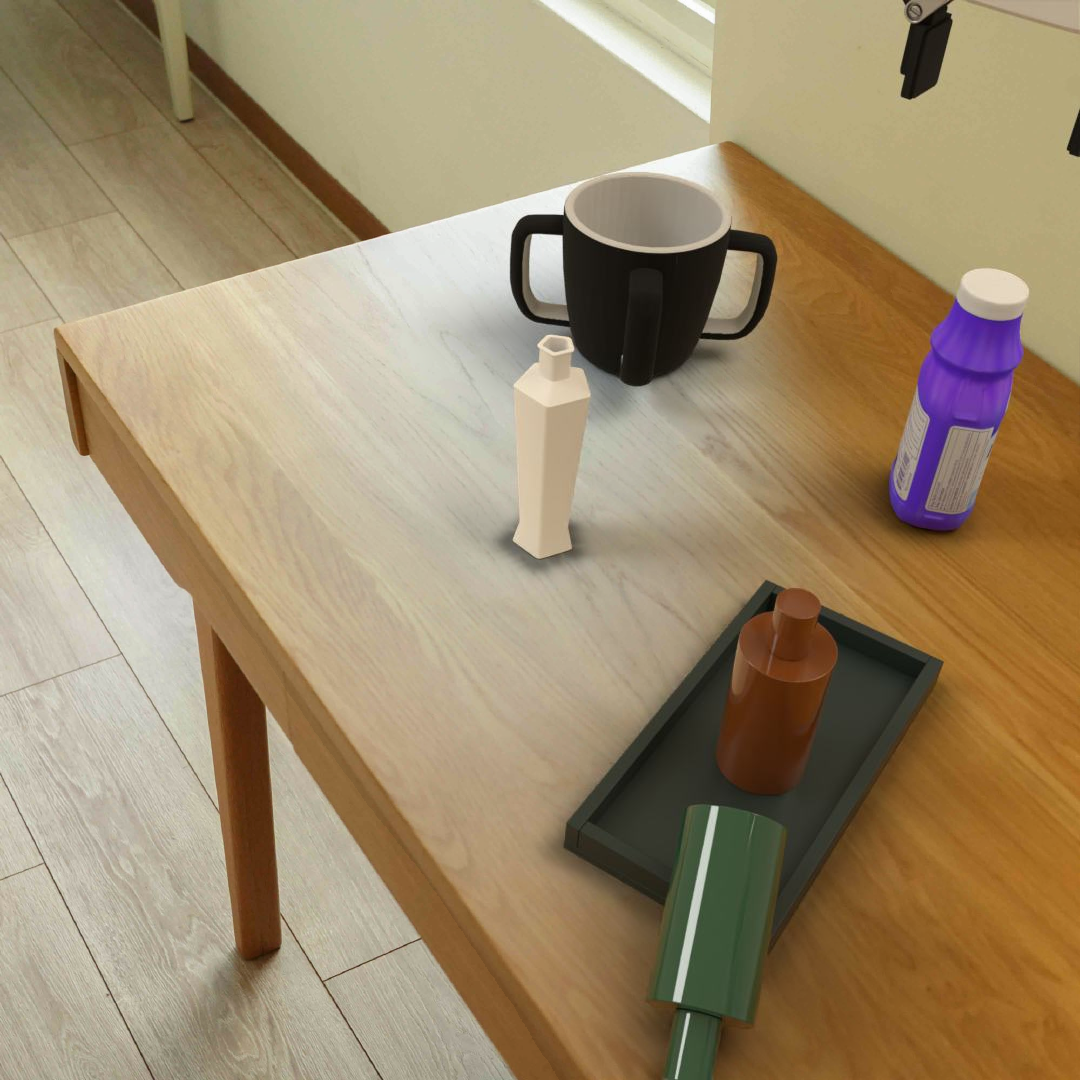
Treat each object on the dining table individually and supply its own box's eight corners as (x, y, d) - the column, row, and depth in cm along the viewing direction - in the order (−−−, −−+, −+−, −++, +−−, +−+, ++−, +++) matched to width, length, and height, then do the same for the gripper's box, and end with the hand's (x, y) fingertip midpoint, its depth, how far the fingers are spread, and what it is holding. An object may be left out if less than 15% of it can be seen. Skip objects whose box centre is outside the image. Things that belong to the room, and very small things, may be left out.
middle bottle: (820, 751, 75) (866, 595, 67) (781, 810, 72) (823, 654, 64) (740, 711, 77) (775, 555, 69) (698, 767, 74) (730, 610, 66)
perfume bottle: (502, 557, 86) (510, 362, 76) (514, 513, 90) (523, 321, 80) (572, 567, 86) (590, 372, 76) (582, 523, 89) (600, 331, 79)
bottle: (970, 545, 89) (1049, 321, 78) (884, 531, 90) (949, 307, 79) (967, 479, 95) (1040, 260, 83) (885, 465, 95) (946, 247, 84)
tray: (935, 685, 80) (944, 661, 78) (763, 964, 65) (770, 940, 64) (760, 603, 84) (766, 578, 83) (563, 847, 70) (565, 822, 68)
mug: (779, 370, 104) (807, 230, 96) (612, 434, 97) (628, 289, 89) (649, 274, 114) (665, 140, 106) (489, 326, 106) (493, 186, 99)
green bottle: (809, 839, 64) (765, 1105, 59) (727, 837, 68) (680, 1088, 63) (744, 804, 61) (692, 1080, 56) (663, 804, 65) (607, 1064, 60)
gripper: (1319, -214, 60) (1179, 148, 71) (964, -282, 68) (889, 54, 79) (1266, -185, 55) (1126, 196, 67) (893, -262, 63) (824, 91, 75)
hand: (998, 118), depth 73 cm, fingers open, 9 cm apart
